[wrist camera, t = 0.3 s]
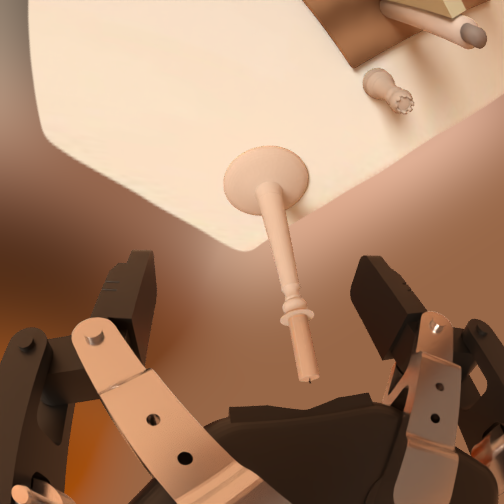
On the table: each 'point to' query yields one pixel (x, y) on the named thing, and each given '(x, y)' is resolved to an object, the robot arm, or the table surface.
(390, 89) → the rook chess piece
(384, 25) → the board
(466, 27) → the hinge
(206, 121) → the table surface
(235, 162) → the candlestick
